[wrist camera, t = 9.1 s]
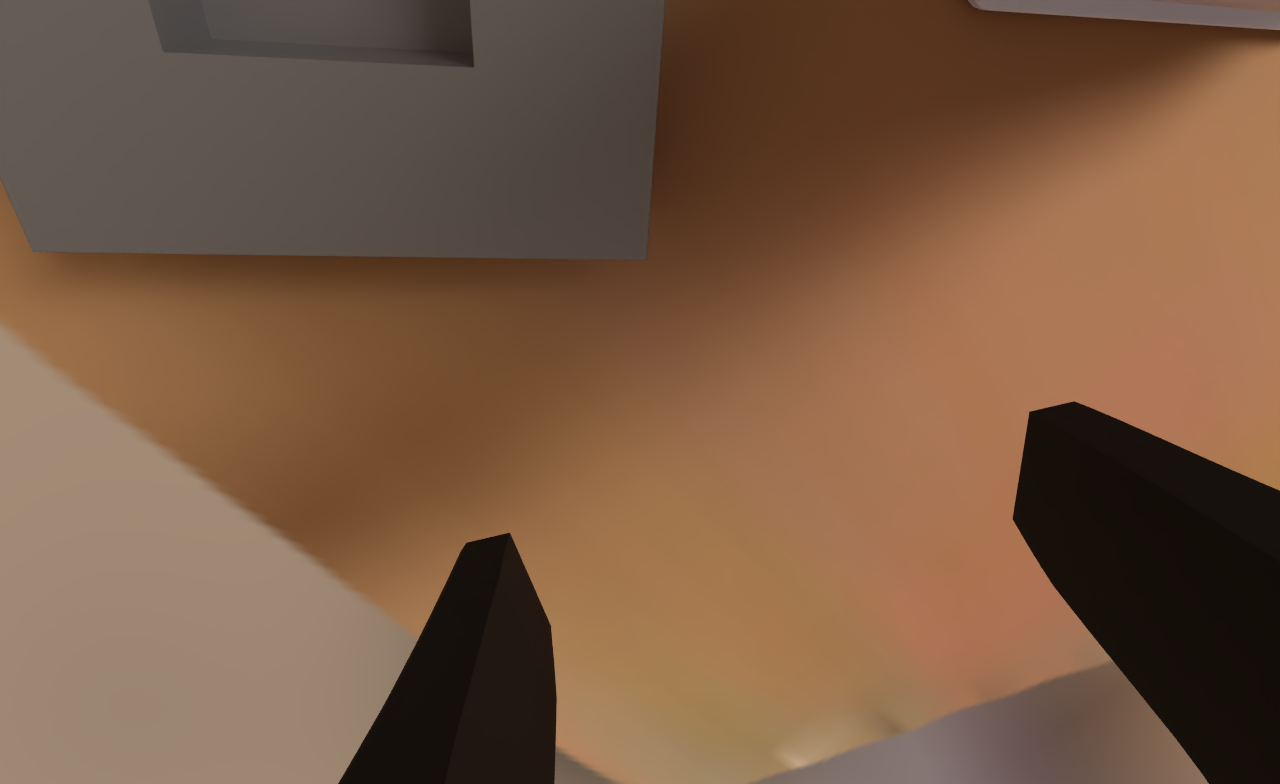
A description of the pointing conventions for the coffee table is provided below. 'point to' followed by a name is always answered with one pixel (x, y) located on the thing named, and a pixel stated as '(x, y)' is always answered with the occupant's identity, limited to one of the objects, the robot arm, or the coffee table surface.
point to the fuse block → (332, 126)
